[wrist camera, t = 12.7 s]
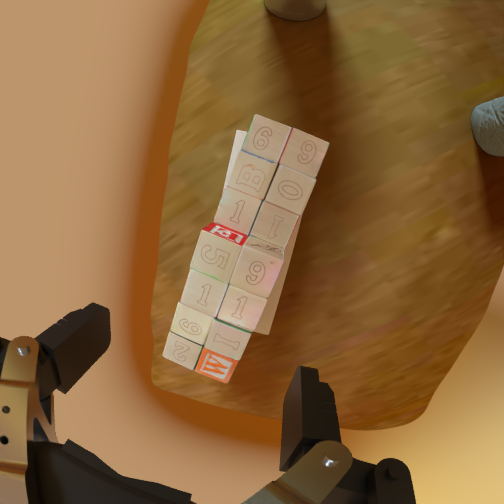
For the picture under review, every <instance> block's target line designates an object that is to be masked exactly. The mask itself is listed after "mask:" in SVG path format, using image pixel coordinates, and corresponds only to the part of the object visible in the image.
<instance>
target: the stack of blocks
mask: <svg viewBox="0 0 504 504" xmlns="http://www.w3.org/2000/svg"><path fill="white" fill-rule="evenodd" d="M329 144H330V143H328V142H326V141H324V140H322V139H320V138H317V137H315V136H313V135H310V134H308V133H305V132H303V131H301V130H298V129H296V128H291V127H289V126H287V125H284V124H282V123H279V122H276V121H273V120H270V119H268V118H265V117H262V116H259V115H256V114H255V115H254V117H253V120H252V122H251V125H250V127H249V130H248V132H247V135H246V137H245V140H244V142H243V145H242V149H241V150H240V151H239V153H238V156H237V158H236V161H235V163H234V166H233V169H232V171H231V174H230V177H229V179H228V182H227V185H226V187H225V189H224V192H223V195H222V197H221V200H220V203H219V206H218V209H217V212H216V215H215V218H214V223H210V224H209V225H207V226H206V227H204V228H203V229H202V230H201V233H200V236H199V239H198V242H197V245H196V249H195V252H194V255H193V258H192V261H191V264H190V271H189V274H188V277H187V280H186V283H185V287H184V290H183V293H182V297H181V300H180V301H179V302H178V305H177V308H176V312H175V315H174V319H173V322H172V325H171V330H170V332H169V334H168V338H167V341H166V344H165V348H164V351H163V357H165V358H167V359H169V360H171V361H173V362H176V363H178V364H180V365H182V366H184V367H186V368H188V369H190V370H194V369H195V371H196V372H198V373H200V374H203V375H205V376H208V377H210V378H213V379H215V380H218V381H221V382H223V383H228V382H229V380H230V378H231V376H232V373H233V371H234V369H235V367H236V365H237V363H238V361H239V360H240V359H241V356H242V354H243V352H244V350H245V348H246V346H247V343H248V341H249V339H250V337H251V334H252V331H254V330H255V328H256V326H257V324H258V322H259V320H260V317H261V315H262V313H263V311H264V308H265V306H266V304H267V301H268V297H269V296H270V294H271V291H272V289H273V287H274V284H275V282H276V280H277V278H278V275H279V273H280V270H281V268H282V266H283V264H284V254H285V249H286V247H287V244H288V242H289V240H290V238H291V235H292V233H293V231H294V229H295V226H296V224H297V222H298V219H299V217H300V216H301V215H302V214H303V211H304V209H305V207H306V205H307V202H308V200H309V198H310V195H311V193H312V190H313V188H314V185H315V183H316V176H317V174H318V171H319V169H320V166H321V164H322V162H323V159H324V157H325V154H326V152H327V149H328V147H329Z"/></svg>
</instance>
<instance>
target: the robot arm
mask: <svg viewBox="0 0 504 504" xmlns="http://www.w3.org/2000/svg"><path fill="white" fill-rule="evenodd" d="M264 4H265V6H266V8H267V9H268V10H269V11H270V12H271V13H272V14H274V15H276V16H278V17H280V18H283V19H287V20H293V21H304V20H310V19H313V18H315V17H317V16H319V15H320V14H321V13H322V12H323V10H324V9H325V5H326V0H264ZM110 341H111V331H110V312H109V309H108V308H106V307H103V306H101V305H99V304H96V303H91V304H89V305H88V306H86V307H85V308H84V309H79V310H76V311H73V312H70V313H69V314H67V315H66V316H64V317H63V319H60V320H59V321H58V322H57V323H56V324H53V325H52V326H51V327H49V328H48V329H47V330H45V331H44V332H43V333H41V334H40V335H38V336H37V337H36V338H32V337H29V336H20V337H17V338H15V339H13V340H12V341H9V340H7V339H4V338H1V337H0V504H196V503H194V502H192V501H190V500H191V495H192V494H190V493H186V492H183V491H180V490H177V489H174V488H171V487H168V486H165V485H162V484H159V483H155V482H149V481H144V480H139V479H133V478H128V477H125V476H122V475H120V474H118V473H117V472H116V471H114V470H113V469H111V468H110V467H109V466H108V465H107V464H105V463H104V462H103V461H102V460H101V459H99V458H98V457H97V456H96V455H95V454H93V453H91V452H90V451H88V450H86V449H84V448H83V447H81V446H79V445H78V444H76V443H74V442H73V441H71V440H69V439H68V440H67V441H66V443H65V444H60V443H58V440H57V436H56V432H55V419H54V395H53V391H54V390H55V389H58V390H59V391H61V392H62V393H64V394H66V393H67V392H68V391H69V390H70V389H71V388H72V386H73V385H74V384H75V383H76V382H77V381H78V380H79V379H80V378H81V377H82V376H83V375H84V374H85V372H86V371H87V370H88V369H89V368H90V367H91V366H92V365H93V364H94V363H95V362H96V361H97V360H98V358H100V357H101V356H102V354H104V353H105V351H106V350H107V348H108V347H109V345H110ZM336 411H337V410H336V405H335V398H334V392H333V391H332V389H331V388H330V387H329V385H328V384H327V383H323V382H319V374H318V369H316V368H310V367H305V366H298V367H297V369H296V371H295V374H294V376H293V378H292V381H291V383H290V385H289V388H288V390H287V392H286V395H285V399H284V404H283V421H282V439H281V455H280V469H279V470H280V471H284V472H286V473H284V474H283V475H282V476H281V477H280V478H278V479H277V480H276V481H272V482H271V483H269V484H267V485H266V486H265V487H263V488H262V489H261V490H260V491H258V492H257V493H255V494H254V495H253V496H251V497H250V498H249V499H247V500H246V501H244V502H243V503H241V504H416V500H415V495H414V490H413V484H412V480H411V475H410V471H409V469H408V467H407V466H406V465H405V464H404V463H403V462H402V461H400V460H398V459H394V458H387V459H383V460H381V461H380V462H379V463H378V464H377V465H375V464H371V463H367V462H364V461H360V460H357V459H355V458H353V457H352V454H351V452H350V451H349V449H348V448H347V447H346V446H344V445H343V444H342V443H341V436H340V430H339V423H338V416H337V413H336Z"/></svg>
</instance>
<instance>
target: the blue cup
mask: <svg viewBox="0 0 504 504" xmlns="http://www.w3.org/2000/svg"><path fill="white" fill-rule="evenodd" d="M471 126H472V131H473V134H474V137H475V139H476V141H477V143H478V144H479V146H480V147H481V148H482V150H484V151H485V152H486V153H488V154H490V155H495V156H504V96H503V97H500V98H496V99H494V100H493V101H489V102H485V103H483V104H480V105H478V106H477V107H475V109H474V110H473V112H472V116H471Z"/></svg>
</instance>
